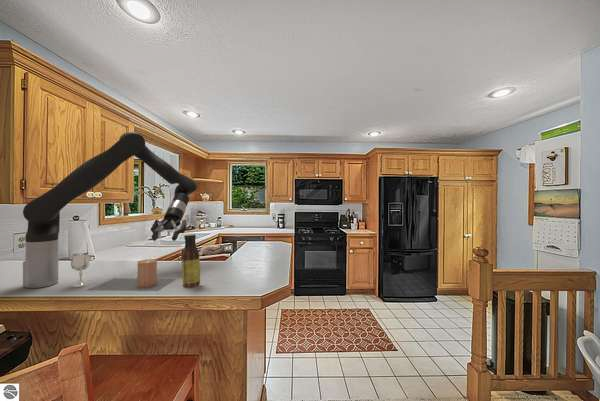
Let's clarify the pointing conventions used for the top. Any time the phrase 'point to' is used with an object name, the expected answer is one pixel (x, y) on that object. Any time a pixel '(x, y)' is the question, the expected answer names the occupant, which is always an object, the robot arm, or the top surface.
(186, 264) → the sauce bottle
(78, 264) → the wineglass
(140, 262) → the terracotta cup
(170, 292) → the top surface
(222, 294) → the top surface
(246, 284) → the top surface
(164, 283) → the rubber mat
